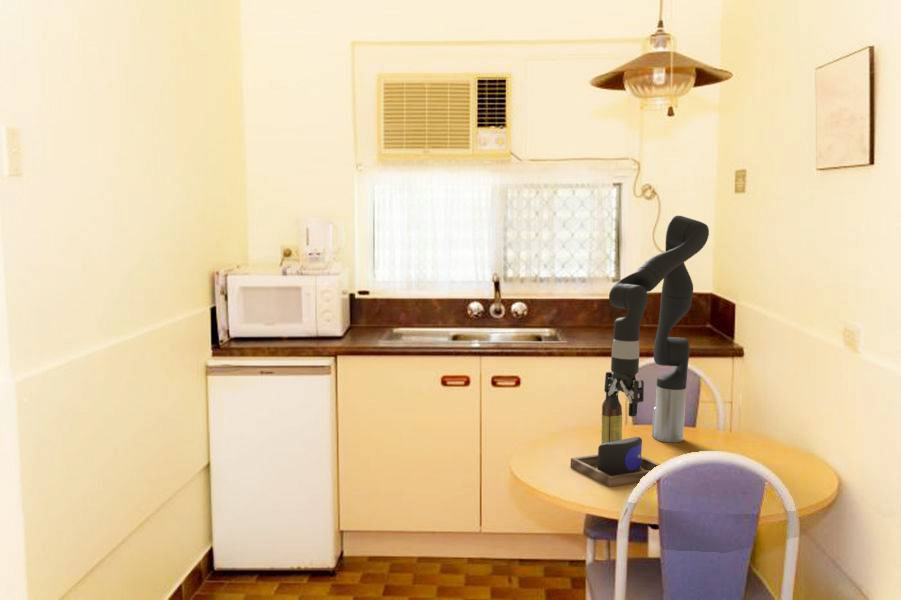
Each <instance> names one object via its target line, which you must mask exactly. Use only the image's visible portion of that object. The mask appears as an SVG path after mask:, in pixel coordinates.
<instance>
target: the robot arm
mask: <svg viewBox="0 0 901 600" xmlns="http://www.w3.org/2000/svg"><path fill="white" fill-rule="evenodd" d="M709 232H710V228H709V227H708V224H706V223H704V222H702V221H698V220H696V219H693V218H689V217H687V216H684V215H675V216H673V217H672V218H671V219H670V221H669V222H668V224H667V228H666V234H665V251H663V252H660V253H657V254H655V255H653V256H651V257H648V258H647V260H645V261H644V262H643V263H642V264H640V266H639V267H638V268H637V269H636V270H635V271H634V272H632V273H630V274H628V275H627V276H625V277H623V278H622V279H620V280H618V281H617V282H616V283H615V284H613V286H612V287H611V289H610V291H609V295H608V300H609V303H610V304H611V306H613V307H614V308H617V309H621V310H627V313H626V315H625V316H623V317H617V318H616V319H615V320H614V322H613V341H612V345H611V359H610V361H611V362H610V363H611V365H610V370H611V371H605V380H604V388H603V389H604V390H603V391H604V393H606V392H607V393H608V395H609V396H610V397H609V408H610V409H612V410H613V409H617V400H618V399H619V393H620V392H622V393H624V395H625V396H626V397H627V399H628V402H629V403H628V416H629V417H637V415H638V404H639V403H642V402H644V389H645V388H644V387H645V386H644V385H645V383H644V380H643V379H639V380H637V378H636V375H637V374H638V373H639V369H640V367H639V366H640V365H639V364H640V351H641V350H640V333H641V332H640V331H641V330H640V327H641V323H642V320H643V318H644V314H645V311H646V309H647V305H648V300H649V299H648V293H649V292H652V290H654V289H655V288H656V287H657V286H658V285H659V284H660V283H661V282H662V287H661V288H662V289H661V293H660V307H659V308H660V309H659V317H658V323H657V324H658V325H657V330H656V336H655V340H654V346H653V361H654V364H656V365H657V366H661V367H662V366H664V367H675V369H673V370H672V371H670V372H668V373H665V374H661V375H659V376H658V377H656V378H657V379H656V390H655V391H656V392H655V407H653V409H652V426H651V427H652V428H651V429H652V430H651V436H652V437H653V438H654V439H655V440H657V441H659V442H664V443H679V442H680V443H681V442H683V440H684V432H685V431H684V428H685V417H686V416H685V413H686V399H687V398H686V395H687V382H688V380H687V379H688V369H689V368H688V367H689V359H690V342H689V340H688V339H687V338H686V337H678V336H676V337H673V336H670V333H671V331H672V330H673V328H675V326H676V324H678V323H679V322H680V320H681V319H682V318H683V317H685V315H686V314H687V313H688V312H689V310H690V309H691V307H692V302H693V296H694V295H693V294H694V284H693V280H692V278H691V275H690V274H689V273H690V272H689V271H688V269H687V267H686V265H685V262H686V261H688V260H689V259H691V258H692V257H693V256H695V255H696V254H698V252H701V250H702V249H703V248H704V247H705V245H706V243H707V241H708V239H709V234H710V233H709ZM609 384H610V388H609ZM617 394H618V396H616V395H617Z"/></svg>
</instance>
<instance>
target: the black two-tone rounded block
mask: <svg viewBox="0 0 901 600" xmlns="http://www.w3.org/2000/svg"><path fill="white" fill-rule="evenodd" d="M642 447H643V439H642V438H641V437H640V436H634V437H629V438H622V440H617V441H612V442H607V443H602V442H601V444H600V445H599V446H598V448H597V455H598V464H597V465H596V466H597V467H596V469H598V470H600V471H602V472H604V473H606V474H608V475H610V476H615V475H621V474H628V473H634V472H639V470H640V469H641V468H642V467H641V456H642V449H643V448H642Z"/></svg>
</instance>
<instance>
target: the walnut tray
mask: <svg viewBox="0 0 901 600" xmlns="http://www.w3.org/2000/svg"><path fill="white" fill-rule="evenodd" d="M658 465H661V464H660V463H657V462H655V461H653V460H651V459H649V458H646V457H644V456H642V455H641V467H640V468H643V469H645V470H641V471H637V472H634V473H628V474H621V475H615V476H610V475H608V474H606V473H604V472H602V471H600V470H598V469H597V467H596V468H595V467H594V466H598V454H592V455H584V456H577V457H571V458H570V468H571V469H574V470H575V471H578V472H580V473H582V474H583V475H586V476H588V477H590V478H591V479H593V480H595V481H597V482H599V483H600V484H604V485H605V486H607V487H608V488H611V487H612V488H613V487H617V486H626V485H630V484H631V485H632V484H637V483H640V482H639V481H640V479H641V478H642V477H643V476H645V475H646V474H647V473H648V472H649V471H651V470H652V469H653V468H654V467H656V466H658Z"/></svg>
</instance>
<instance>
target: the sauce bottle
mask: <svg viewBox="0 0 901 600" xmlns="http://www.w3.org/2000/svg"><path fill="white" fill-rule="evenodd" d="M609 388H610V384H609ZM616 396H618V397H619V393H618V394H617V395H616ZM609 397H610V396H609V395H608V393H607V392H605V399H604V400H603V402H602V404H601V405H602V406H601V444H602V443H607V442H612V441H617V440H623V411H622V409H623V407H622V404H621V401H620V400H619V398H618V400H617V409H613V410H612V409H610V408H609Z"/></svg>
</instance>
